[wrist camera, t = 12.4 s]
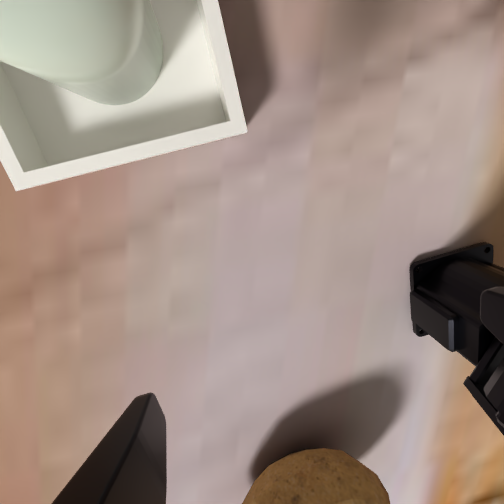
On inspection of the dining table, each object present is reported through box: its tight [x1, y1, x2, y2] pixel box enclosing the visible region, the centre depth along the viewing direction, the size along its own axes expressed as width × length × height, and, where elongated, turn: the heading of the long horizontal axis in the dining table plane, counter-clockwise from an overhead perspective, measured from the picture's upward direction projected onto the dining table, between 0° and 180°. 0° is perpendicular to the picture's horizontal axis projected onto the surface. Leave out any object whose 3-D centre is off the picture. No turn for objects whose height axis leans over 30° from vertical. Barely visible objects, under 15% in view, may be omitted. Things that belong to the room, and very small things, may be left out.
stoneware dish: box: [0, 0, 248, 191], centre depth 14 cm, size 11×11×3 cm
